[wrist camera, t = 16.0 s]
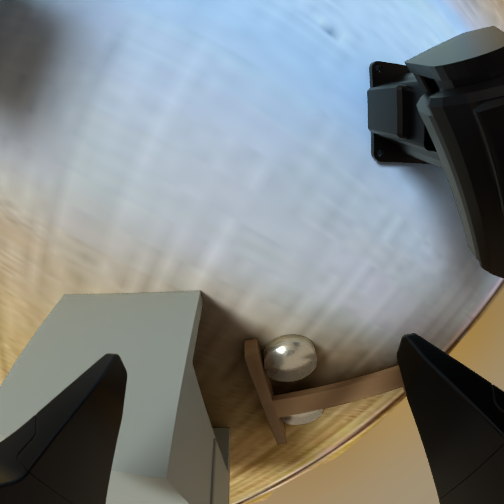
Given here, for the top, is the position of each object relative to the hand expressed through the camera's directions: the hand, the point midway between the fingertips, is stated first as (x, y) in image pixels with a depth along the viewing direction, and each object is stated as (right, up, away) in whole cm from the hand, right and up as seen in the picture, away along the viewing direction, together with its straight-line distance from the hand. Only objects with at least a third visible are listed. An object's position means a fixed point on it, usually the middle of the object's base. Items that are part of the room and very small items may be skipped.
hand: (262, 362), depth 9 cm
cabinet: (-9, -9, +17) cm, 22 cm away
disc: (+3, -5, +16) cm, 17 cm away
